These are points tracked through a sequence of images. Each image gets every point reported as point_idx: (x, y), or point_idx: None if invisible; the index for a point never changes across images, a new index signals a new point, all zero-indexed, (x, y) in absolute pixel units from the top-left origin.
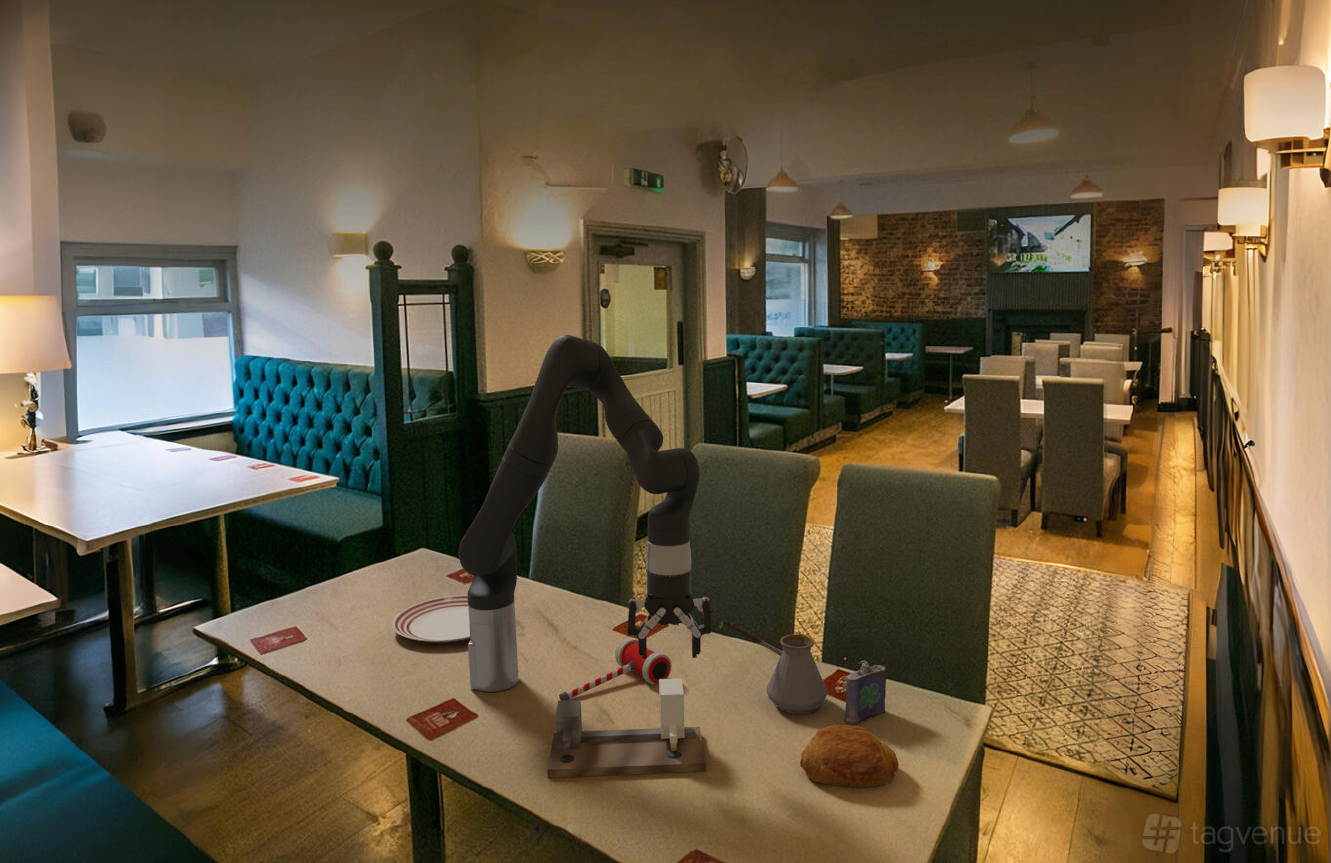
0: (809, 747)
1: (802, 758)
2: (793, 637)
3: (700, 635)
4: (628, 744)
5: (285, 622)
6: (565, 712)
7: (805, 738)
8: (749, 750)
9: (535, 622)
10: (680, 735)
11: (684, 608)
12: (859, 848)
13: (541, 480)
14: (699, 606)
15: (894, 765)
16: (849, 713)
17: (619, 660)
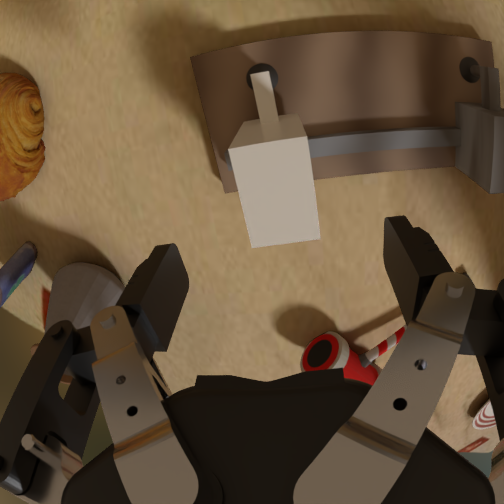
0: (13, 117)
1: (27, 98)
2: (70, 379)
3: (97, 314)
4: (367, 112)
5: None
6: None
7: (62, 198)
8: (128, 145)
9: (450, 414)
10: (252, 121)
11: (119, 487)
12: None
13: None
14: (50, 468)
15: None
16: (21, 251)
17: (380, 370)
